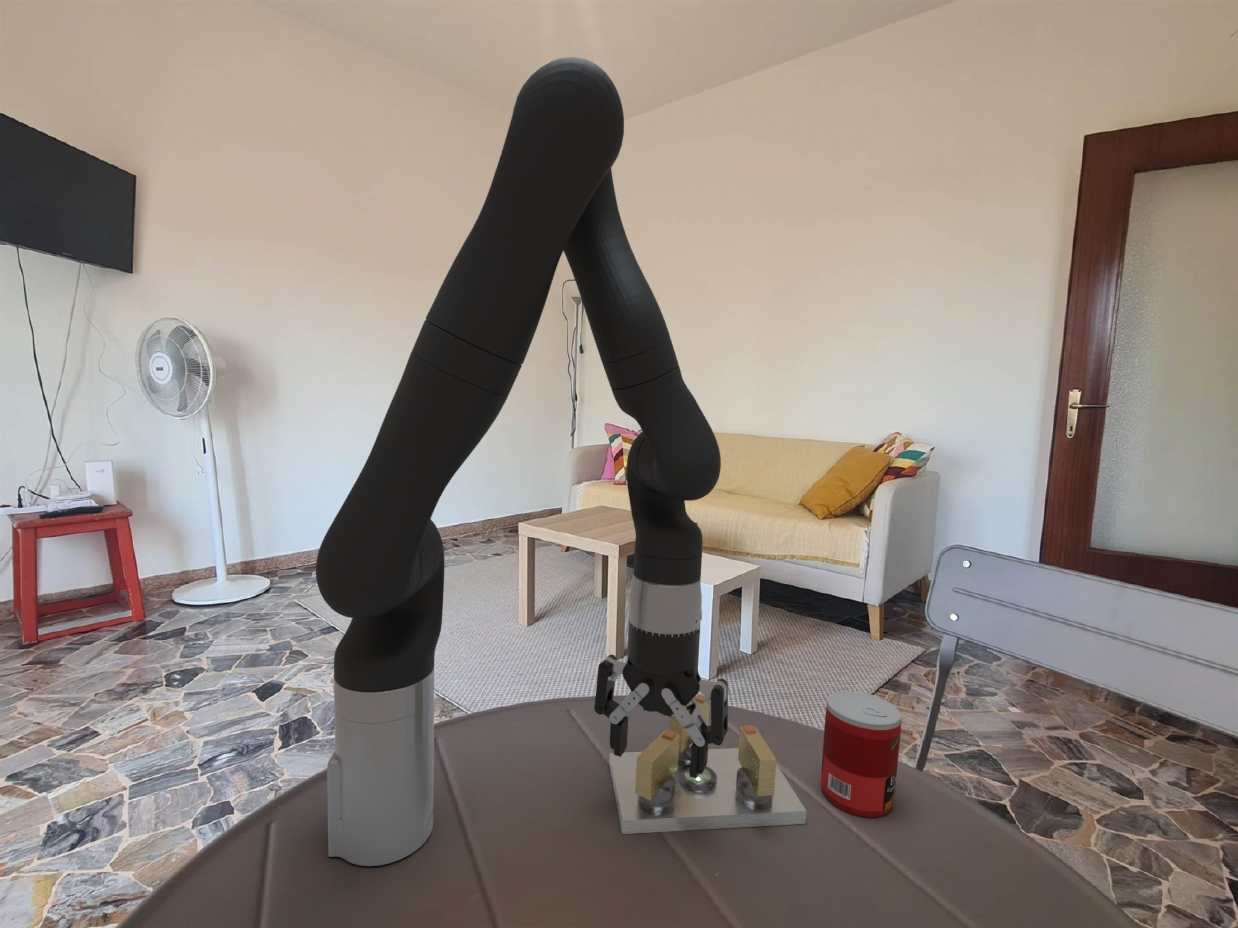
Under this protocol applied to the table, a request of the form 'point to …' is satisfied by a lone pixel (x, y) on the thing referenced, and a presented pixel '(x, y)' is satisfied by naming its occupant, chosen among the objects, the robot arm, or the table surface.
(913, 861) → the table surface
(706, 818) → the level plate
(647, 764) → the knob
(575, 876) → the table surface
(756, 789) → the knob
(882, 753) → the canned food
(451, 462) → the robot arm
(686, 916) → the table surface
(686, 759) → the yellow paddle knob
